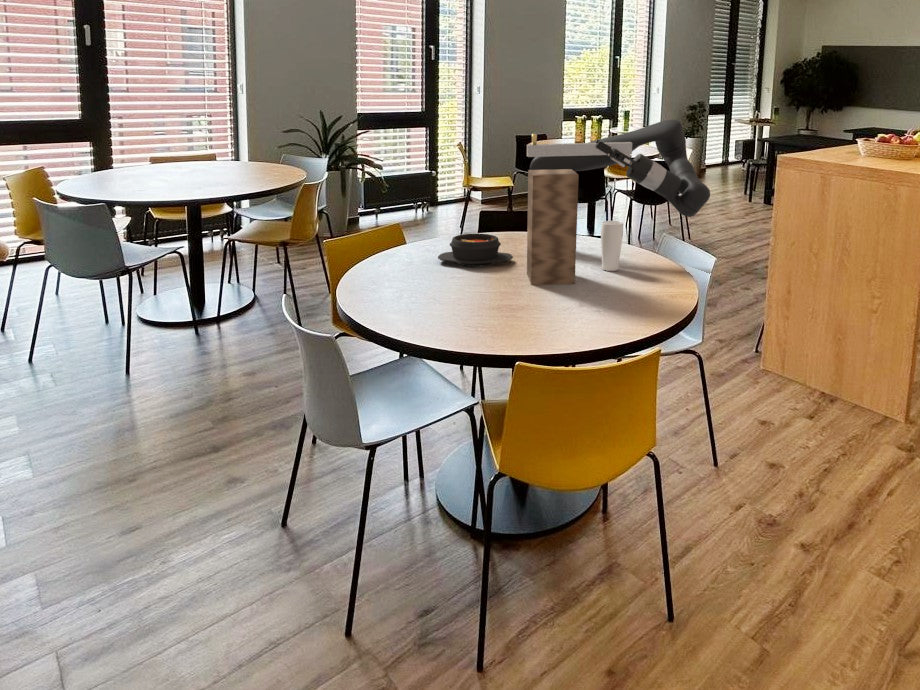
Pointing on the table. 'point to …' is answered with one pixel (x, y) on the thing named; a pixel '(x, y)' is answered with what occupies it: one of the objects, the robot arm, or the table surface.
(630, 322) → the table surface
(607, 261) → the white tapered cylinder
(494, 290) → the table surface
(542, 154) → the bar
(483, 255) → the casserole
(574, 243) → the pedestal
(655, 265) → the table surface
